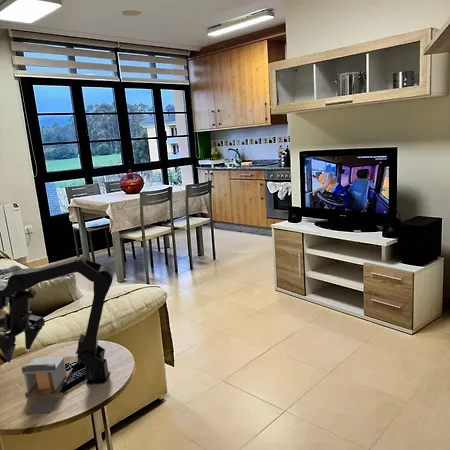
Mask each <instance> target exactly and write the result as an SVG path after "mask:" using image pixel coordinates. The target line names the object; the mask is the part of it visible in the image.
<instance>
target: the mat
mask: <svg viewBox="0 0 450 450" xmlns="http://www.w3.org/2000/svg"><path fill="white" fill-rule="evenodd" d="M58 400H59V396H51V397H50V396H49V397H36V399H35V400H33V402H32V404H31V405H30V406H29V408H28V409H27V411H26V412H25V414H26V415H31V414H45V413H46V414H47V413H48V414H49V413H50V412H51V411H52V410H53V408H54V406H55V405H56V403H57V402H58Z"/></svg>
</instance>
